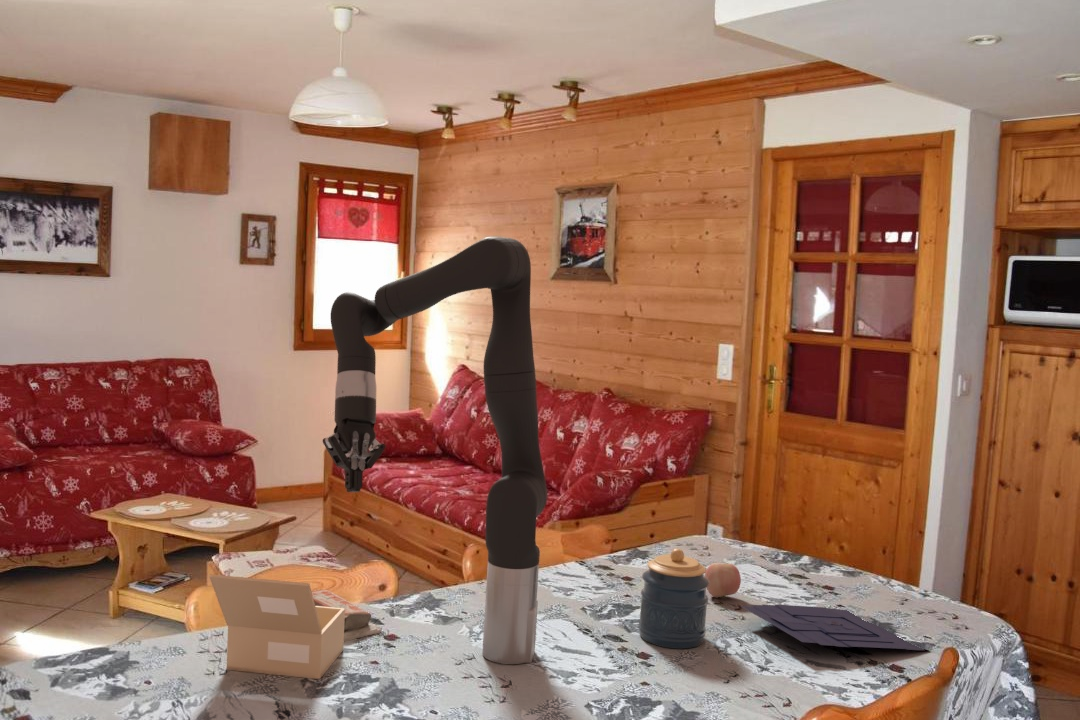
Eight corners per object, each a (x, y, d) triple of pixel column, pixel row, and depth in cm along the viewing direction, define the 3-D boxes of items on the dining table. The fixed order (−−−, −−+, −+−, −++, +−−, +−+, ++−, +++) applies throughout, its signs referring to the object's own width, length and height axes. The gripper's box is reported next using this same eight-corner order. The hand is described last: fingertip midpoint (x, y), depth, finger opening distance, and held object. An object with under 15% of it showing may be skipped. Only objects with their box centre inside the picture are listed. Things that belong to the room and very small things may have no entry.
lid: (309, 583, 152) (308, 586, 152) (321, 631, 161) (320, 635, 160) (210, 574, 154) (209, 577, 153) (228, 622, 162) (226, 625, 162)
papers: (732, 615, 202) (735, 598, 202) (846, 622, 214) (849, 605, 214) (806, 660, 180) (809, 641, 180) (929, 664, 192) (932, 646, 191)
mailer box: (343, 650, 174) (345, 608, 174) (319, 679, 161) (321, 634, 161) (256, 641, 176) (258, 600, 175) (226, 669, 163) (227, 625, 162)
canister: (712, 634, 194) (719, 547, 193) (694, 655, 182) (701, 562, 181) (650, 621, 199) (656, 536, 198) (628, 640, 188) (635, 550, 186)
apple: (744, 597, 219) (746, 562, 218) (731, 606, 212) (734, 570, 212) (710, 589, 223) (713, 555, 222) (697, 597, 216) (700, 562, 216)
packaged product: (288, 592, 190) (333, 584, 197) (287, 617, 190) (331, 607, 197) (337, 619, 177) (383, 609, 184) (336, 645, 177) (382, 634, 184)
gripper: (338, 389, 174) (335, 485, 170) (396, 400, 184) (395, 492, 179) (313, 396, 179) (310, 491, 174) (371, 407, 189) (370, 497, 184)
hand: (353, 491), depth 177 cm, fingers closed
